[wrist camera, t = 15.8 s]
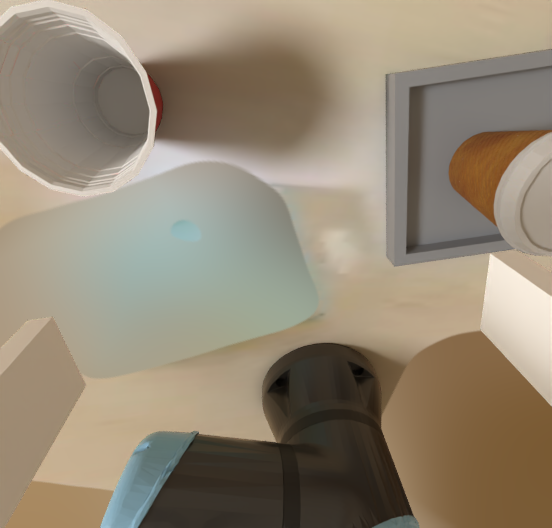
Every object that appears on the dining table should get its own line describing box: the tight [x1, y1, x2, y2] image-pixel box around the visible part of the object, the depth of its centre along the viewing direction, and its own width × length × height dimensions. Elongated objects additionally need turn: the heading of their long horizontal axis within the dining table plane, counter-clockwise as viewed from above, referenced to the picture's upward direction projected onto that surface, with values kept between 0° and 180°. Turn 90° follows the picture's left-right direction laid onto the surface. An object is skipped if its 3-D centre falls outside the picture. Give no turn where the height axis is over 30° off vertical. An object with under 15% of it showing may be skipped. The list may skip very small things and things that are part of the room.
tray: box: [386, 49, 552, 267], centre depth 35 cm, size 18×18×2 cm
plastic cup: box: [0, 0, 163, 197], centre depth 27 cm, size 11×11×12 cm
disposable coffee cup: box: [449, 130, 552, 256], centre depth 30 cm, size 10×10×12 cm
